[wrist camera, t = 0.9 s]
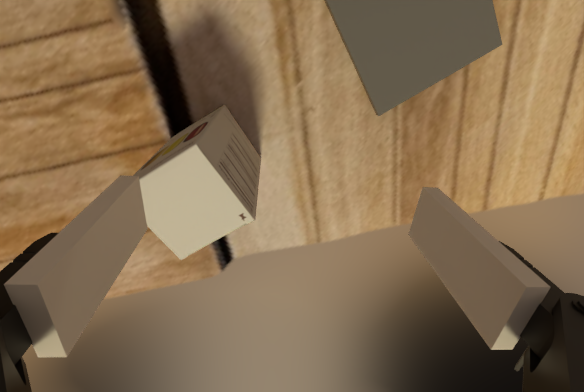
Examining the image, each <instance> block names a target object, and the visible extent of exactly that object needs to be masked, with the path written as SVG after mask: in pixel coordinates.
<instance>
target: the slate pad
mask: <svg viewBox="0 0 584 392" xmlns="http://www.w3.org/2000/svg"><path fill="white" fill-rule="evenodd" d="M325 3H326V5H327V7H328V9H329V11H330V14H331V16H332V18H333V20H334V22H335V25H336V27H337V29H338V31H339V33H340V36H341V38H342V40H343V42H344V44H345V47H346V49H347V51H348V53H349V55H350V58H351V60H352V62H353V64H354V66H355V69H356V71H357V73H358V75H359V77H360V80H361V82H362V84H363V86H364V89H365V91H366V93H367V95H368V97H369V100H370V102H371V104H372V106H373V108H374V111H375V113H376V115H378V116H380V115H382V114H383V113H385V112H387V111H388V110H390V109H392V108H394V107H395V106H397V105H399V104H401V103H402V102H404V101H406V100H407V99H409V98H411V97H413V96H414V95H416V94H418V93H419V92H421V91H423V90H425V89H426V88H428V87H430V86H432V85H433V84H435V83H437V82H438V81H440V80H442V79H444V78H445V77H447V76H449V75H451V74H452V73H454V72H456V71H457V70H459V69H461V68H463V67H464V66H466V65H468V64H469V63H471V62H473V61H475V60H476V59H478V58H480V57H482V56H483V55H485V54H487V53H488V52H490V51H492V50H494V49H495V48H497V47H499V46H500V45H502V41H501V37H500V32H499V28H498V23H497V19H496V15H495V10H494V6H493V1H492V0H325Z"/></svg>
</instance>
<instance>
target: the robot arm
mask: <svg viewBox="0 0 584 392" xmlns="http://www.w3.org/2000/svg"><path fill="white" fill-rule="evenodd" d="M146 230H147V223H146V217H145V211H144V205H143V199H142V193H141V187H140V181H139V176H119V177H118V178H117V179H116V180H115V181H114V182H113V183H112V184H111V185H110V186H109V187H108V188H107V189H105V190H104V191H103V192H102V193H101V194H100V195H99V196H98V197H97V198H96V199H95V200H94V201H93V202H92V203H90V204H89V205H88V206H87V207H86V208H85V209H84V210H83V211H82V212H81V213H80V214H79V215H78V216H77V217H75V218H74V219H73V220H72V221H71V222H70V223H69V224H68V225H67V226H66V227H65V228H64V229H63V230H62V231H60V232H59V233H50V234H48V235H46V236H44V237H42V238H40V239H38V240H37V241H35V242H34V243H32V244H31V245H30V246H29V247H28V248H27V249H26V250H24V251H23V254H20V255H19V256H18V257H16V258H15V259H14V260H13V263H9V264H8V265H7V266H6V267H5V268H4V269H3V270H1V271H0V392H32V391H31V387H30V382H29V377H28V373H27V369H26V364H25V362H24V360H23V358H22V356H23V354H24V353H25V352H26V350H27V349H28V348H29V347H30V345H31V344H32V345H33V347H34V349H35V352H36V354H37V356H38V357H67V356H68V354H69V353H70V351H71V349H72V348H73V346H74V345H75V343H76V341H77V340H78V338H79V337H80V335H81V334H82V332H83V330H84V329H85V327H86V326H87V324H88V323H89V321H90V319H91V318H92V316H93V315H94V313H95V311H96V310H97V308H98V306H99V305H100V303H101V302H102V300H103V299H104V297H105V296H106V294H107V292H108V291H109V289H110V288H111V286H112V284H113V283H114V281H115V280H116V278H117V277H118V275H119V273H120V272H121V270H122V269H123V267H124V265H125V264H126V262H127V261H128V259H129V257H130V256H131V254H132V253H133V251H134V250H135V248H136V246H137V245H138V243H139V242H140V240H141V238H142V237H143V235H144V234H145V232H146ZM409 236H410V238H411V239H412V240H413V242H414V243H415V245H416V246H417V247H418V249H419V250H420V251H421V253H422V254H423V256H424V257H425V258H426V260H427V261H428V262H429V264H430V265H431V267H432V268H433V269H434V271H435V272H436V274H437V275H438V276H439V278H440V279H441V281H442V282H443V284H444V285H445V286H446V288H447V289H448V290H449V292H450V293H451V295H452V296H453V297H454V299H455V300H456V302H457V303H458V304H459V306H460V307H461V308H462V310H463V311H464V313H465V314H466V315H467V317H468V318H469V320H470V321H471V322H472V324H473V325H474V326H475V328H476V329H477V331H478V332H479V334H480V335H481V336H482V338H483V339H484V340H485V342H486V343H487V345H488V346H489V347H490V349H491V350H499V349H500V350H505V349H513V348H514V346H515V344H516V343H517V341H518V340H519V338H520V336H521V337H522V339H523V340H524V341H525V342H526V343H527V344H528V347H527V349H526V351H525V352H524V353H523V355H522V357H521V358H520V360H519V361H518V363H517V364H516V366H515V370H517V371H519V369H520V367H523V369H524V370H523V392H584V296H581V295H578V294H573V293H564V292H563V291H562V290H560V289H559V288H558V287H557V286H556V285H555V284H553V283H552V282H551V281H550V280H549V279H548V278H546V277H545V276H544V275H543V274H542V273H541V272H539V271H538V270H537V269H536V268H533V266H532V265H531V264H530V263H529V262H528V261H526V260H524V258H523V257H522V256H521V255H520V254H518V253H517V252H516V251H515V250H514V249H512V248H510V247H509V246H507V245H505V244H503V243H502V242H500V241H497V240H496V239H495V238H494V237H493V236H492V235H491V234H490V233H489V232H487V231H486V230H485V229H484V228H483V227H482V226H481V225H479V224H478V223H477V222H476V221H475V220H474V219H473V218H471V217H470V216H469V215H468V214H467V213H466V212H465V211H464V210H462V209H461V208H460V207H459V206H458V205H457V204H456V203H454V202H453V201H452V200H451V199H450V198H449V197H448V196H446V195H445V194H444V193H443V192H442V191H441V190H440V189H438V188H428V187H423V188H422V191H421V195H420V198H419V201H418V204H417V208H416V211H415V214H414V218H413V221H412V224H411V228H410V231H409Z"/></svg>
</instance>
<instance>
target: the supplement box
mask: <svg viewBox="0 0 584 392" xmlns="http://www.w3.org/2000/svg"><path fill="white" fill-rule="evenodd" d="M260 164H261V158H260V156H259V154H258V153H257V151H256V150H255V148H254V147H253V145H252V144H251V142H250V141H249V139H248V138H247V137H246V135H245V134H244V132H243V131H242V129H241V128H240V126H239V125H238V123H237V122H236V120H235V119H234V117H233V116H232V114H231V113H230V111H229V110H228V108H227V107H226V106H225V105H223V106H221V107H220V108H218V109H216V110H215V111H213V112H211V113H210V114H208V115H207V116H205V117H203V118H202V119H200V120H198V121H197V122H195V123H194V124H192V125H190V126H189V127H187V128H186V129H184V130H183V131H181V132H180V133H178V134H176V135H175V136H173V137H172V138H171V139H170V140H169V141H168V142H167V143H166V144H165V145H164V146H163V147H162V148H161V149H160V150H159V151H158V152H157V153H156V154H155V155H154V156H153V157H152V158H151V159H150V160H149V161H148V162H147V163H145V164H144V165H143V166H142V167H141V168H140V169H139V170H138V171H137V172H136V173H135V174H134V175H133V176H139V181H140V187H141V193H142V199H143V205H144V211H145V217H146V223H147V226H148V227H149V228H150V229H151V230H152V231H153V232H154V233H155V234H156V235H157V236H158V237H159V238H160V239H161V240H162V241H163V243H164V244H165V245H166V246H167V247H168V248H169V249H171V250H172V251H173V252H174V253H175V254H176V255H177V256H178V257H179V258H180V259H181V260H182V259H184V258H186V257H187V256H189V255H191V254H193V253H194V252H196V251H198V250H200V249H201V248H203V247H205V246H207V245H208V244H210V243H212V242H214V241H216V240H217V239H219V238H221V237H223V236H225V235H227V234H229V233H231V232H233V231H235V230H237V229H239V228H241V227H243V226H245V225H247V224H249V223H251V222H253V221H255V216H256V206H257V195H258V184H259V174H260Z"/></svg>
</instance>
